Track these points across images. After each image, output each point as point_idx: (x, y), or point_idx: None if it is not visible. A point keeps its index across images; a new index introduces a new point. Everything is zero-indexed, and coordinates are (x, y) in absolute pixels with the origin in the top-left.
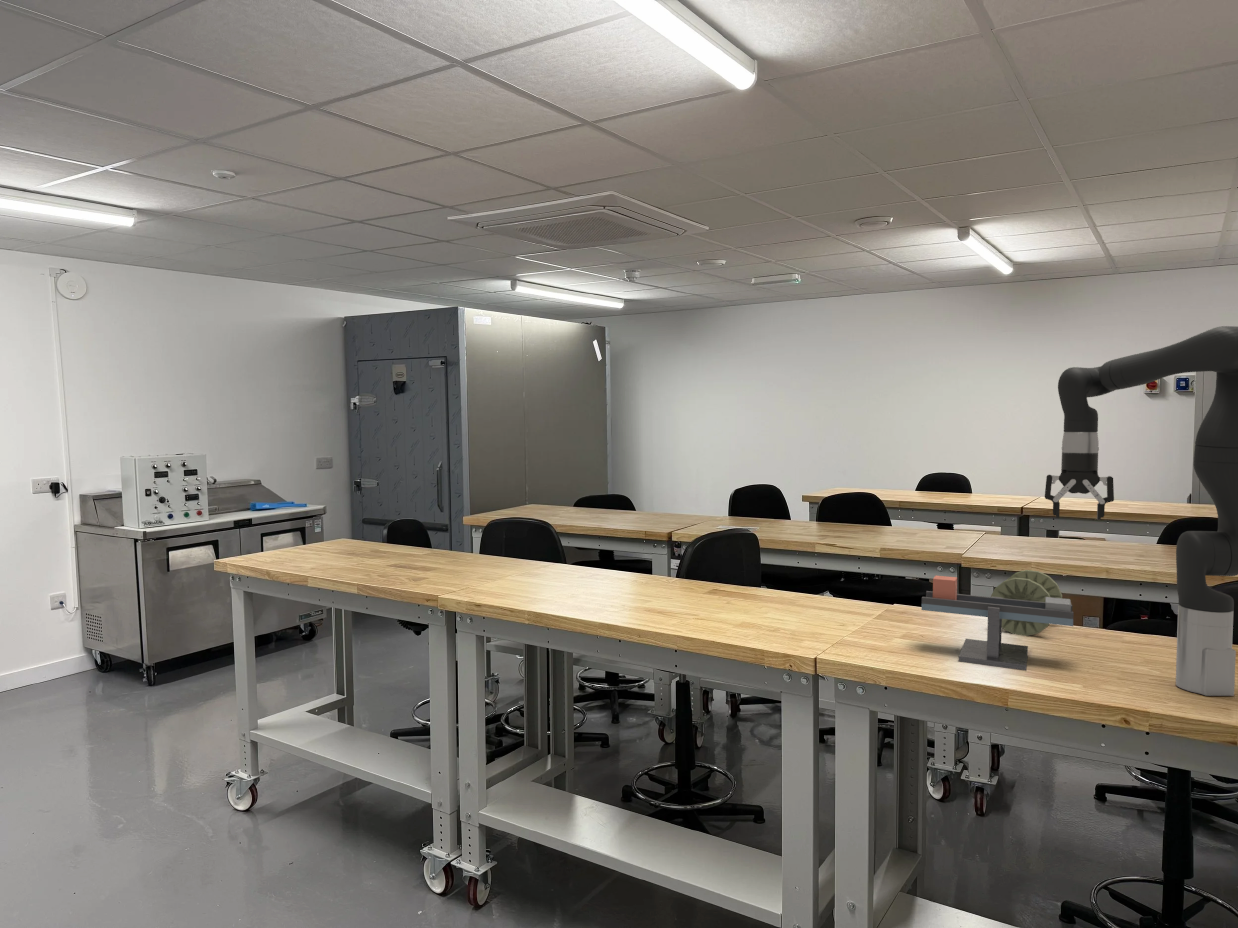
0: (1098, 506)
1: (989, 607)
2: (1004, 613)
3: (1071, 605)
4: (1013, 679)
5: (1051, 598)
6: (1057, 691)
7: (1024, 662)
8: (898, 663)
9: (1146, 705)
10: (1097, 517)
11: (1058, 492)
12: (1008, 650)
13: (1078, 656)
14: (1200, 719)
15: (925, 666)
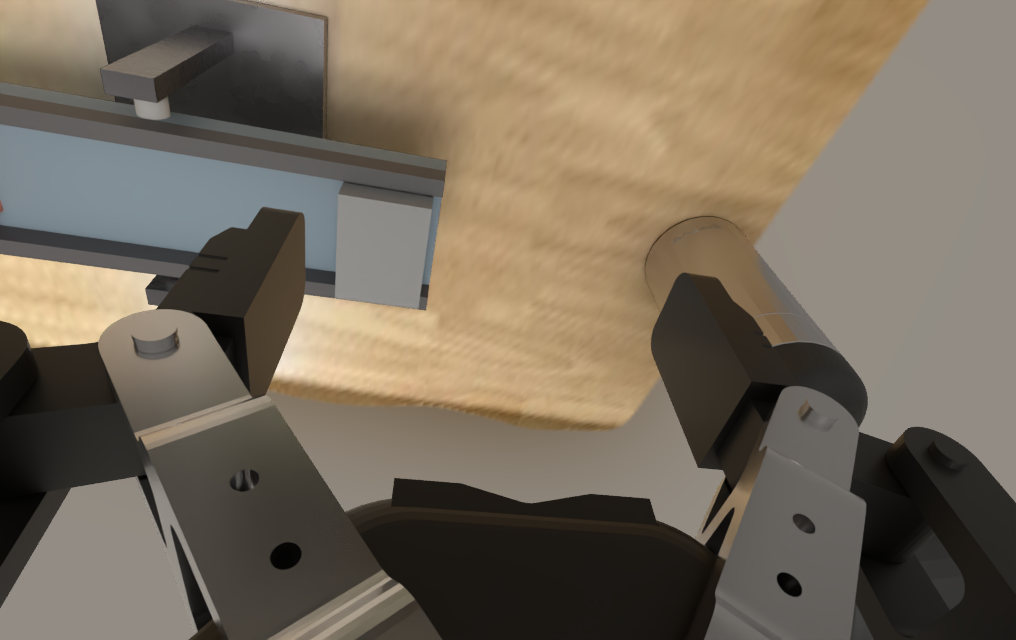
0: (697, 445)
1: (153, 301)
2: None
3: (439, 194)
4: (298, 323)
5: (359, 218)
6: (383, 366)
7: None
8: (15, 290)
9: (529, 388)
10: (655, 355)
11: (148, 473)
12: (264, 110)
13: (487, 36)
14: (590, 421)
15: (86, 293)
